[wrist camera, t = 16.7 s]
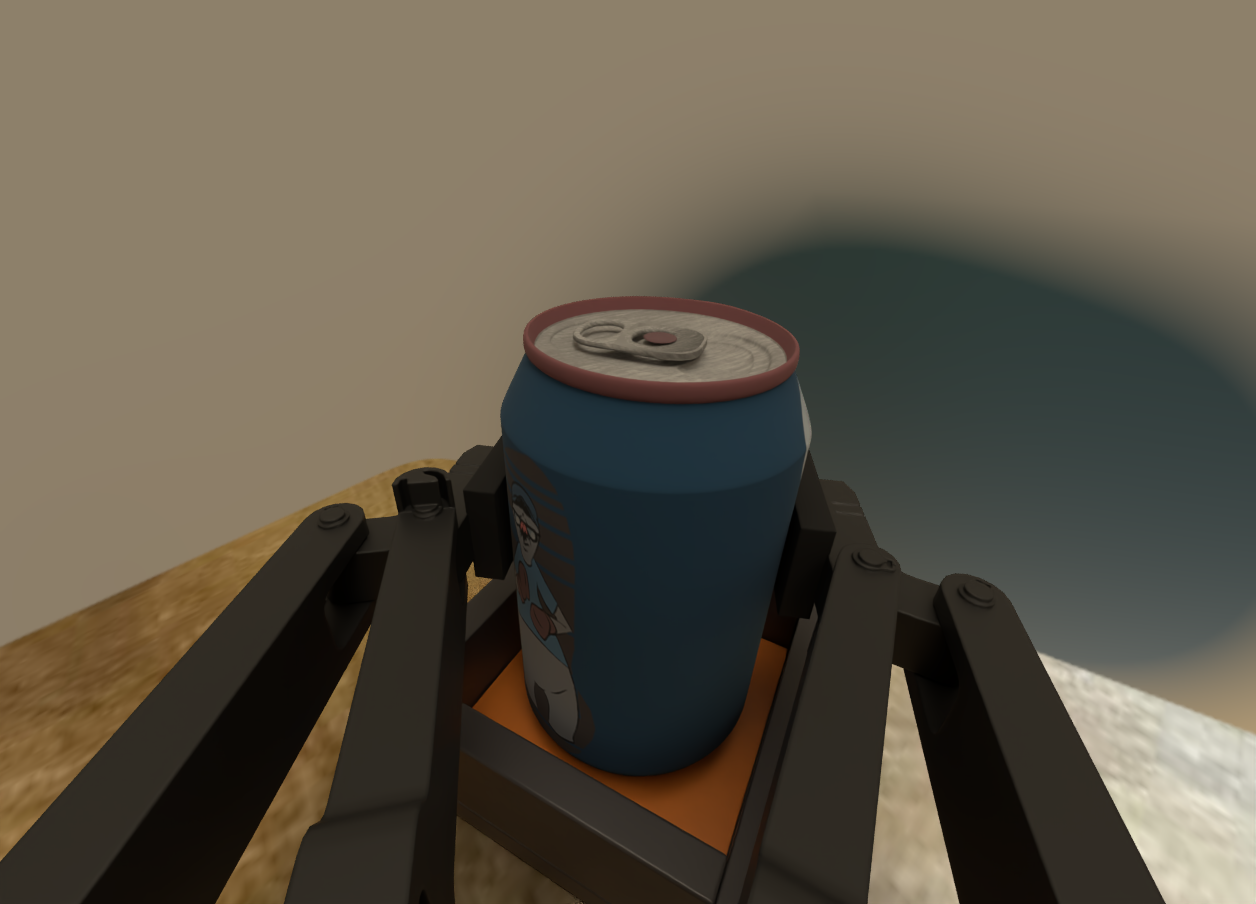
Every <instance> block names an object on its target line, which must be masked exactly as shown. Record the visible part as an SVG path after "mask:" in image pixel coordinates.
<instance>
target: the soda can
mask: <svg viewBox="0 0 1256 904" xmlns="http://www.w3.org/2000/svg"><path fill="white" fill-rule="evenodd" d="M523 341H524V342H523V343H524V349H525V354H524V356H523V359H522V361H521V363H520V365H519V367H518V369H517V371H516V374H515V376H514V378H513V380H512V382H511V384H510V386H509V389H508V391H507V393H506V396H505V398H504V400H503V403H502V407H501V414H500V415H501V416H500V417H501V427H502V439H503V450H504V461H505V472H506V482H507V493H508V504H509V515H510V526H511V537H512V548H513V559H514V570H515V581H516V592H517V602H518V613H519V624H520V635H521V646H522V657H523V668H524V679H525V687H526V692H527V696H528V699H529V702H530V705H531V707H532V710H533V712H534V714H535V716H536V718H537V719H538V721H539V723H540V724H541V726H542V727H543V728H544V730H545V731H546V732H547V734H548V735H549V736H550V737H551V738H552V739H553V740H554V741H555V742H556V743H557V744H558V745H559V746H560V747H561V748H562V749H564V750H565V751H566V752H568V753H569V754H570V755H572V756H573V757H575V758H576V759H578V760H580V761H582V762H583V763H585V764H587V765H590V766H592V767H594V768H597V769H600V770H603V771H606V772H609V773H613V774H618V775H625V776H655V775H661V774H667V773H670V772H674V771H677V770H680V769H683V768H685V767H688V766H690V765H692V764H694V763H696V762H698V761H699V760H701V759H703V758H704V757H706V756H707V755H709V754H710V753H711V752H712V751H714V750H715V749H716V748H717V747H718V746H719V745H720V744H721V743H722V742H723V741H724V740H725V739H726V738H727V737H728V735H729V734H730V733H731V731H732V730H733V728H734V727H735V725H736V723H737V722H738V720H739V718H740V716H741V713H742V711H743V708H744V705H745V701H746V697H747V693H748V689H749V685H750V681H751V677H752V673H753V669H754V665H755V661H756V657H757V653H758V649H759V645H760V641H761V637H762V633H763V629H764V625H765V621H766V617H767V613H768V609H769V605H770V601H771V597H772V593H773V589H774V585H775V581H776V577H777V573H778V569H779V565H780V561H781V557H782V553H783V549H784V545H785V541H786V537H787V533H788V529H789V525H790V521H791V517H792V513H793V509H794V505H795V501H796V497H797V493H798V489H799V485H800V481H801V477H802V473H803V469H804V465H805V461H806V457H807V453H808V449H809V445H810V441H811V424H810V419H809V415H808V411H807V408H806V405H805V401H804V398H803V395H802V391H801V388H800V385H799V382H798V379H797V376H796V372H795V369H796V366H797V364H798V360H799V350H800V349H799V345H798V342H797V340H796V339H795V337H794V336H793V335H792V334H791V333H790V332H789V331H787V330H786V329H785V328H783V327H782V326H780V325H779V324H777V323H775V322H773V321H771V320H769V319H767V318H764V317H762V316H759V315H757V314H754V313H751V312H749V311H746V310H743V309H739V308H736V307H732V306H729V305H724V304H719V303H713V302H707V301H700V300H691V299H680V298H669V297H650V296H649V297H647V296H630V297H629V296H628V297H627V296H626V297H607V298H597V299H589V300H582V301H577V302H572V303H568V304H564V305H560V306H557V307H554V308H551V309H549V310H546V311H544V312H542V313H540V314H539V315H537V316H535V317H534V318H533V319H532V320H531V321H530V322H529V323H528V324H527V326H526V328H525V330H524V335H523Z"/></svg>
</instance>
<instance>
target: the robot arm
mask: <svg viewBox="0 0 1256 904" xmlns="http://www.w3.org/2000/svg"><path fill="white" fill-rule="evenodd" d="M392 487H393V492H394V496H395V500H396V505H397V509H398V515H397V516H391V517H381V518H371V519H366V518H365V514H364V511H363V509H362V508H361V507H359V506H358V505H355V504H350V503H340V504H333V505H329V506H326V507H323V508H321V509H319V510H317V511H315V512H313V513H312V514H311V515H309V516H308V517H307V518H306V519H305V520H304V521H303V522H302V523H301V524H300V525H299V526H298V528H297V529H296V530H295V531H294V532H293V533H292V534H291V535H290V537H289V538H288V539H287V540H286V541H285V542H284V543H283V544H282V546H281V547H280V548H279V549H278V550H277V551H276V552H275V553H274V555H273V556H272V557H271V558H270V559H269V560H268V561H267V562H266V564H265V565H264V566H263V567H262V568H261V569H260V570H259V571H258V573H257V574H256V575H255V576H254V577H253V578H252V579H251V580H250V582H249V583H248V584H247V585H246V586H245V587H244V588H243V589H242V591H241V592H240V593H239V594H238V595H237V596H236V597H235V598H234V600H233V601H232V602H231V603H230V604H229V605H228V606H227V607H226V609H225V610H224V611H223V612H222V613H221V614H220V615H219V616H218V618H217V619H216V620H215V621H214V622H213V623H212V624H211V625H210V627H209V628H208V629H207V630H206V631H205V632H204V633H203V634H202V636H201V637H200V638H199V639H198V640H197V641H196V642H195V643H194V645H193V646H192V647H191V648H190V649H189V650H188V651H187V652H186V654H185V655H184V656H183V657H182V658H181V659H180V660H179V661H178V663H177V664H176V665H175V666H174V667H173V668H172V669H171V670H170V672H169V673H168V674H167V675H166V676H165V677H164V678H163V679H162V681H161V682H160V683H159V684H158V685H157V686H156V687H155V688H154V689H153V691H152V692H151V693H150V694H149V695H148V696H147V697H146V698H145V700H144V701H143V702H142V703H141V704H140V705H139V706H138V707H137V709H136V710H135V711H134V712H133V713H132V714H131V715H130V716H129V718H128V719H127V720H126V721H125V722H124V723H123V724H122V725H121V727H120V728H119V729H118V730H117V731H116V732H115V733H114V734H113V736H112V737H111V738H110V739H109V740H108V741H107V742H106V743H105V745H104V746H103V747H102V748H101V749H100V750H99V751H98V752H97V754H96V755H95V756H94V757H93V758H92V759H91V760H90V761H89V763H88V764H87V765H86V766H85V767H84V768H83V769H82V770H81V772H80V773H79V774H78V775H77V776H76V777H75V778H74V779H73V781H72V782H71V783H70V784H69V785H68V786H67V787H66V788H65V790H64V791H63V792H62V793H61V794H60V795H59V796H58V797H57V799H56V800H55V801H54V802H53V803H52V804H51V805H50V806H49V808H48V809H47V810H46V811H45V812H44V813H43V814H42V815H41V817H40V818H39V819H38V820H37V821H36V822H35V823H34V824H33V826H32V827H31V828H30V829H29V830H28V831H27V832H26V833H25V835H24V836H23V837H22V838H21V839H20V840H19V841H18V842H17V844H16V845H15V846H14V847H13V848H12V849H11V850H10V851H9V853H8V854H7V855H6V856H5V857H4V858H3V859H2V860H1V862H0V904H215V903H216V901H217V899H218V898H219V896H220V894H221V892H222V890H223V889H224V887H225V885H226V883H227V881H228V880H229V878H230V876H231V874H232V872H233V871H234V869H235V867H236V865H237V863H238V862H239V860H240V858H241V856H242V854H243V853H244V851H245V849H246V847H247V845H248V844H249V842H250V840H251V838H252V837H253V835H254V833H255V831H256V829H257V828H258V826H259V824H260V822H261V820H262V819H263V817H264V815H265V813H266V811H267V810H268V808H269V806H270V804H271V802H272V801H273V799H274V797H275V795H276V793H277V792H278V790H279V788H280V786H281V784H282V783H283V781H284V779H285V777H286V776H287V774H288V772H289V770H290V768H291V767H292V765H293V763H294V761H295V759H296V758H297V756H298V754H299V752H300V750H301V749H302V747H303V745H304V743H305V741H306V740H307V738H308V736H309V734H310V732H311V731H312V729H313V727H314V725H315V724H316V722H317V720H318V718H319V716H320V715H321V713H322V711H323V709H324V707H325V706H326V704H327V702H328V700H329V698H330V697H331V695H332V693H333V691H334V689H335V688H336V686H337V684H338V682H339V680H340V679H341V677H342V675H343V673H344V671H345V670H346V668H347V666H348V664H349V663H350V661H351V659H352V657H353V655H354V654H355V652H356V650H357V648H358V646H359V645H360V643H361V641H362V639H363V637H364V636H365V634H366V632H367V630H368V628H369V627H370V625H371V627H370V631H369V635H368V639H367V644H366V648H365V652H364V656H363V660H362V664H361V668H360V672H359V676H358V680H357V684H356V688H355V693H354V697H353V701H352V705H351V709H350V713H349V717H348V721H347V725H346V729H345V733H344V738H343V742H342V746H341V750H340V754H339V758H338V762H337V766H336V770H335V774H334V778H333V782H332V787H331V791H330V795H329V799H328V803H327V806H326V810H325V813H324V815H323V817H322V819H321V820H320V821H319V822H317V823H315V824H313V825H312V826H310V827H309V829H308V830H307V832H306V834H305V835H304V837H303V839H302V842H301V845H300V848H299V851H298V854H297V857H296V860H295V864H294V868H293V871H292V875H291V879H290V883H289V886H288V890H287V894H286V897H285V901H284V904H455V898H454V856H455V836H456V816H457V796H458V776H459V756H460V736H461V716H462V696H463V675H464V655H465V635H466V615H467V595H468V583H467V576H466V572H467V571H468V569H469V567H470V565H471V563H472V562H473V563H474V569H475V576H476V577H483V578H490V579H498V580H504V579H505V577H506V575H507V572H508V570H509V568H510V566H511V564H512V562H513V560H514V559H513V548H512V537H511V526H510V515H509V504H508V493H507V482H506V472H505V461H504V450H503V439H502V436H501V437H500V439H499V440H498V442H497V443H496V444H495V446H494V447H493V446H492V447H491V446H483V445H476V446H475V447H473V448H471V449H470V450H468V451H466V452H464V453H463V454H462V456H461V457H460V458H459V459H458V461H457V462H456V465H454V466H453V467H452V468H451V469H450V472H449V473H447V472H446V471H445V470H442V469H439V468H429V467H424V468H419V469H413V470H411V471H408V472H406V473H403V474H402V475H400V476H399V477H397V478H396V479H395V481H394V482H393V484H392ZM774 592H775V599H776V606H777V612H778V615H779V616H787V617H795V618H803V619H810V616H811V613H812V610H813V607H814V603H815V607H816V611H817V615H818V619H817V622H816V625H815V628H814V631H813V634H812V637H811V640H810V643H809V646H808V650H807V652H808V653H807V657H806V660H805V664H804V667H803V671H802V675H801V678H800V682H799V685H798V689H797V693H796V696H795V700H794V704H793V707H792V711H791V714H790V718H789V722H788V725H787V729H786V733H785V736H784V740H783V743H782V747H781V751H780V754H779V758H778V761H777V765H776V769H775V772H774V776H773V780H772V783H771V787H770V790H769V794H768V798H767V801H766V805H765V809H764V812H763V816H762V819H761V823H760V827H759V830H758V834H757V837H756V841H755V845H754V848H753V852H752V856H751V859H750V863H749V866H748V870H747V874H746V877H745V881H744V885H743V888H742V892H741V895H740V899H739V903H738V904H867V903H868V892H869V882H870V872H871V862H872V853H873V843H874V833H875V824H876V814H877V804H878V795H879V785H880V775H881V765H882V756H883V746H884V736H885V727H886V717H887V707H888V698H889V688H890V678H891V668H892V664H894V665H896V666H899V667H901V668H904V673H905V677H906V682H907V686H908V690H909V694H910V698H911V703H912V707H913V711H914V715H915V719H916V723H917V728H918V732H919V736H920V740H921V744H922V749H923V753H924V757H925V761H926V765H927V770H928V774H929V778H930V782H931V786H932V790H933V795H934V799H935V803H936V807H937V811H938V816H939V820H940V824H941V828H942V832H943V837H944V841H945V845H946V849H947V853H948V857H949V862H950V866H951V870H952V874H953V878H954V883H955V887H956V891H957V895H958V899H959V904H1166V903H1165V901H1164V900H1163V898H1162V896H1161V894H1160V892H1159V890H1158V888H1157V886H1156V884H1155V882H1154V880H1153V878H1152V876H1151V874H1150V872H1149V870H1148V868H1147V866H1146V864H1145V862H1144V861H1143V859H1142V857H1141V855H1140V853H1139V851H1138V849H1137V847H1136V845H1135V843H1134V841H1133V839H1132V837H1131V835H1130V833H1129V831H1128V829H1127V827H1126V825H1125V823H1124V822H1123V820H1122V818H1121V816H1120V814H1119V812H1118V810H1117V808H1116V806H1115V804H1114V802H1113V800H1112V798H1111V796H1110V794H1109V792H1108V790H1107V788H1106V786H1105V784H1104V782H1103V781H1102V779H1101V777H1100V775H1099V773H1098V771H1097V769H1096V767H1095V765H1094V763H1093V761H1092V759H1091V757H1090V755H1089V753H1088V751H1087V749H1086V747H1085V745H1084V743H1083V742H1082V740H1081V738H1080V736H1079V734H1078V732H1077V730H1076V728H1075V726H1074V724H1073V722H1072V720H1071V718H1070V716H1069V714H1068V712H1067V710H1066V708H1065V706H1064V704H1063V703H1062V701H1061V699H1060V697H1059V695H1058V693H1057V691H1056V689H1055V687H1054V685H1053V683H1052V681H1051V679H1050V677H1049V675H1048V673H1047V671H1046V669H1045V667H1044V665H1043V664H1042V662H1041V660H1040V658H1039V656H1038V654H1037V652H1036V650H1035V648H1034V646H1033V644H1032V642H1031V640H1030V638H1029V636H1028V634H1027V632H1026V631H1025V629H1024V627H1023V624H1022V623H1021V621H1020V619H1019V617H1018V615H1017V613H1016V611H1015V609H1014V607H1013V605H1012V603H1011V602H1010V600H1009V599H1008V598H1007V597H1006V595H1005V594H1004V593H1003V592H1002V591H1001V590H999V589H998V588H997V587H995V586H994V585H993V584H991V583H988V582H987V581H985V580H983V579H981V578H978V577H974V576H971V575H968V574H956V573H955V574H951V575H948V576H946V577H945V578H944V579H943V580H942V582H941V584H940V586H939V585H935V584H933V583H929V582H926V581H923V580H920V579H917V578H915V577H912V576H910V575H907V574H905V573H903V572H901V568H900V564H899V563H898V562H897V560H896V559H895V558H894V557H893V556H892V555H891V554H889V553H888V552H887V551H885V550H883V549H881V548H879V547H878V546H877V543H876V541H875V539H874V536H873V534H872V532H871V529H870V527H869V524H868V522H867V520H866V517H864V513H863V511H862V508H861V507H860V503H859V501H858V499H857V496H856V494H855V492H854V491H852V489H850V488H849V487H848V486H847V485H846V484H845V483H844V482H842V481H833V480H822V479H819V478H818V475H817V472H816V469H815V466H814V463H813V460H812V457H811V454H810V451H809V449H808V453H807V457H806V461H805V465H804V469H803V473H802V477H801V481H800V485H799V489H798V493H797V497H796V501H795V505H794V509H793V513H792V517H791V521H790V525H789V529H788V533H787V537H786V541H785V545H784V549H783V553H782V557H781V561H780V565H779V569H778V573H777V577H776V581H775V585H774Z"/></svg>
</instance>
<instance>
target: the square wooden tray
mask: <svg viewBox="0 0 1256 904" xmlns="http://www.w3.org/2000/svg"><path fill="white" fill-rule="evenodd" d="M817 619H818V615H817V611H816V607H815V603H814V607H813V610H812V613H811V616H810V619H803V618H795V617H787V616H779V615H778V612H777V606H776V599H775V592H774V589H773V593H772V597H771V601H770V605H769V609H768V613H767V617H766V621H765V625H764V629H763V633H762V637H761V641H760V645H759V649H758V653H757V657H756V661H755V665H754V669H753V673H752V677H751V681H750V685H749V689H748V693H747V697H746V701H745V705H744V708H743V711H742V713H741V716H740V718H739V720H738V722H737V723H736V725H735V727H734V728H733V730H732V731H731V733H730V734H729V735H728V737H727V738H726V739H725V740H724V741H723V742H722V743H721V744H720V745H719V746H718V747H717V748H716V749H715V750H714V751H712V752H711V753H710V754H709V755H707V756H706V757H704V758H703V759H701V760H699V761H698V762H696V763H694V764H692V765H690V766H688V767H685V768H683V769H680V770H677V771H674V772H670V773H667V774H661V775H655V776H625V775H618V774H613V773H609V772H606V771H603V770H600V769H597V768H594V767H592V766H590V765H587V764H585V763H583V762H582V761H580V760H578V759H576V758H575V757H573V756H572V755H570V754H569V753H568V752H566V751H565V750H564V749H562V748H561V747H560V746H559V745H558V744H557V743H556V742H555V741H554V740H553V739H552V738H551V737H550V736H549V735H548V734H547V732H546V731H545V730H544V728H543V727H542V726H541V724H540V723H539V721H538V719H537V718H536V716H535V714H534V712H533V710H532V707H531V705H530V702H529V699H528V696H527V692H526V687H525V679H524V668H523V657H522V646H521V635H520V624H519V613H518V602H517V592H516V581H515V570H514V560H513V562H512V564H511V566H510V568H509V570H508V572H507V575H506V577H505V579H504V580H498V579H492V580H491V581H490V582H489V583H488V584H487V585H486V586H485V587H484V588H483V589H482V590H481V591H480V592H479V593H478V594H477V595H475V596H474V597H473V598H472V599H471V600H470V601H469V602H468V603H467V615H466V635H465V655H464V675H463V696H462V716H461V736H460V756H459V776H458V796H457V815H458V816H459V817H461V818H462V819H464V820H465V821H467V822H468V823H469V824H471V825H472V826H474V827H475V828H477V829H478V830H480V831H481V832H483V833H484V834H485V835H487V836H488V837H490V838H491V839H493V840H494V841H496V842H497V843H499V844H500V845H501V846H503V847H504V848H506V849H507V850H509V851H510V852H512V853H513V854H515V855H516V856H518V857H519V858H520V859H522V860H523V861H525V862H526V863H528V864H529V865H531V866H532V867H534V868H535V869H536V870H538V871H539V872H541V873H542V874H544V875H545V876H547V877H548V878H550V879H551V880H552V881H554V882H555V883H557V884H558V885H560V886H561V887H563V888H564V889H566V890H567V891H569V892H570V893H571V894H573V895H574V896H576V897H577V898H579V899H580V900H582V901H583V902H585V903H586V904H738V903H739V899H740V895H741V892H742V888H743V885H744V881H745V877H746V874H747V870H748V866H749V863H750V859H751V856H752V852H753V848H754V845H755V841H756V837H757V834H758V830H759V827H760V823H761V819H762V816H763V812H764V809H765V805H766V801H767V798H768V794H769V790H770V787H771V783H772V780H773V776H774V772H775V769H776V765H777V761H778V758H779V754H780V751H781V747H782V743H783V740H784V736H785V733H786V729H787V725H788V722H789V718H790V714H791V711H792V707H793V704H794V700H795V696H796V693H797V689H798V685H799V682H800V678H801V675H802V671H803V667H804V664H805V660H806V657H807V653H808V652H807V650H808V646H809V643H810V640H811V637H812V634H813V631H814V628H815V625H816V622H817Z"/></svg>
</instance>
